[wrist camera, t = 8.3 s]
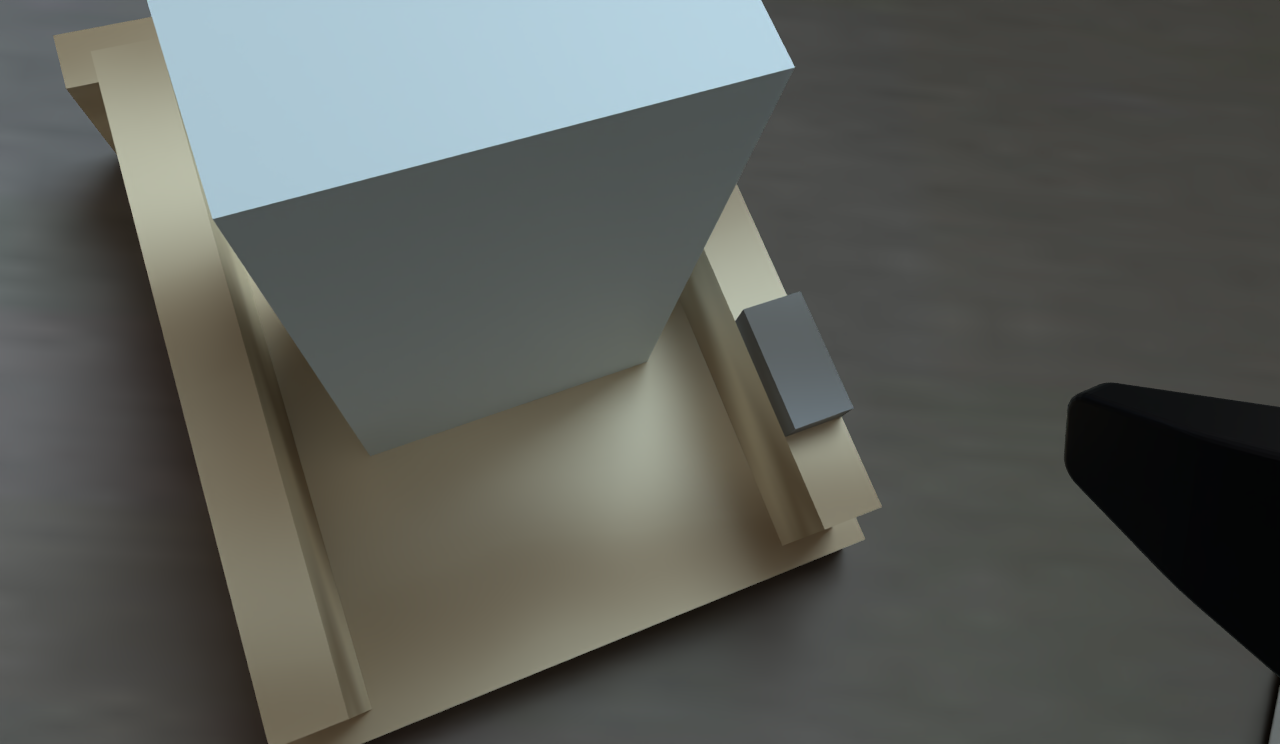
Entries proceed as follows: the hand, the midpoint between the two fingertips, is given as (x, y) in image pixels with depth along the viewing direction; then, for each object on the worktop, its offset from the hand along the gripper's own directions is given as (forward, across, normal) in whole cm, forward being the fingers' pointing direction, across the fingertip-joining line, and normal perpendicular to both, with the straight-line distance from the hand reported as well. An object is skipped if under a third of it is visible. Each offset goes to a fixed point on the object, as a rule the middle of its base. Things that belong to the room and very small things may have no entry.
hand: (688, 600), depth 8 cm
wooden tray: (+12, 0, +3) cm, 12 cm away
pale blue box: (+11, 0, +2) cm, 11 cm away
